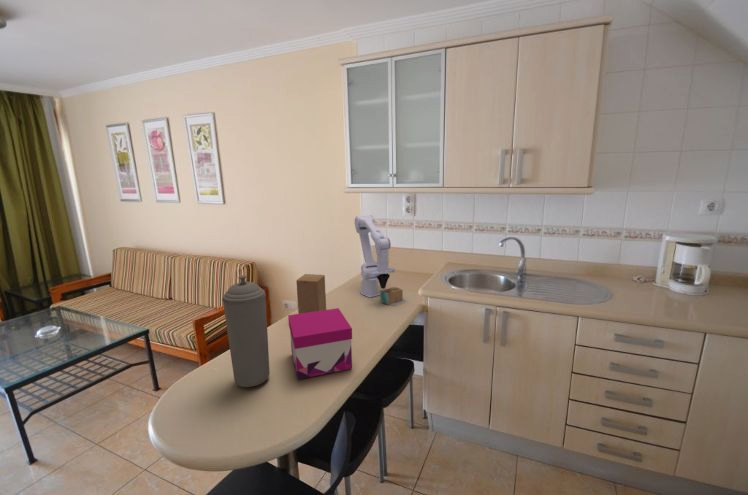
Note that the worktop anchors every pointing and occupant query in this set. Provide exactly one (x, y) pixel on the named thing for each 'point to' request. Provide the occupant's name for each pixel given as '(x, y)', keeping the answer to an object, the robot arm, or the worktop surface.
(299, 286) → the wooden block
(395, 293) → the brown teal box
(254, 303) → the canister
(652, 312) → the worktop surface
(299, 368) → the decorative box
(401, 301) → the mat
